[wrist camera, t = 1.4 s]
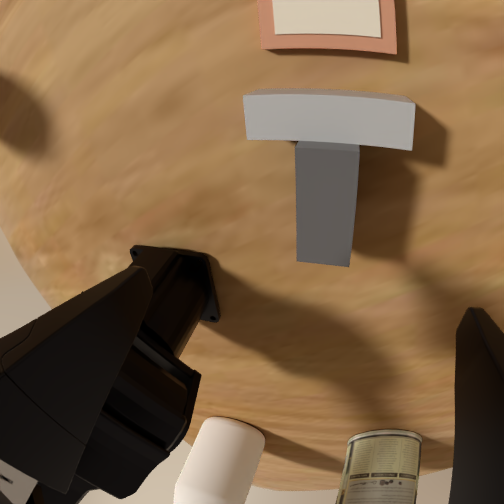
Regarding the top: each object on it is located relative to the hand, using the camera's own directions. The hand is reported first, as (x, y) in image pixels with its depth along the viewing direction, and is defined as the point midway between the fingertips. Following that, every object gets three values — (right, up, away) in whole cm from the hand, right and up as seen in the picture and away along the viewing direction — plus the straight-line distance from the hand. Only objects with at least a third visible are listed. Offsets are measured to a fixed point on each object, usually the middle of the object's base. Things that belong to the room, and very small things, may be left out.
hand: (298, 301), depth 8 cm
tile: (+2, +13, +2) cm, 14 cm away
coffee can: (+16, -23, +24) cm, 38 cm away
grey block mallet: (+3, +6, +7) cm, 10 cm away
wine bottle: (-3, -24, +33) cm, 41 cm away
